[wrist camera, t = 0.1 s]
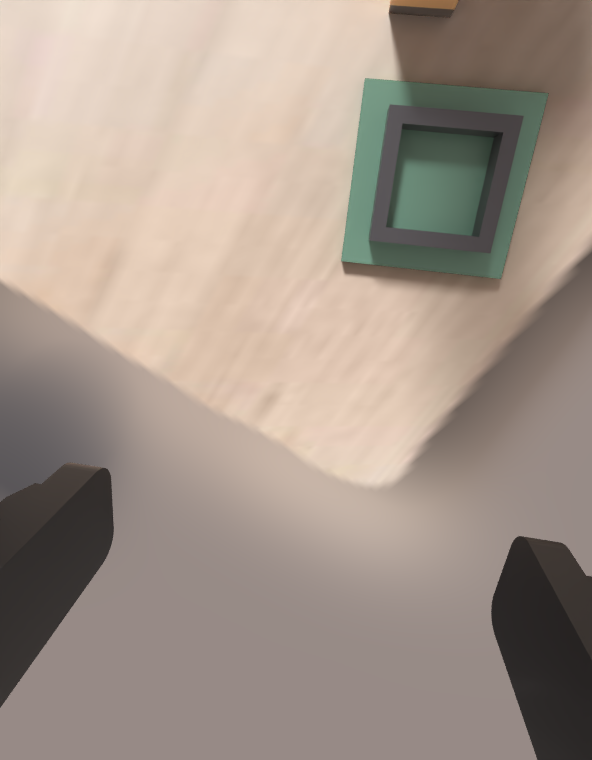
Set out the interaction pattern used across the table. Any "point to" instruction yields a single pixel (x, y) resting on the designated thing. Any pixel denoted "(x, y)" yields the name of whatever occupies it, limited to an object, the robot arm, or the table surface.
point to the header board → (439, 175)
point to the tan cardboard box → (423, 7)
